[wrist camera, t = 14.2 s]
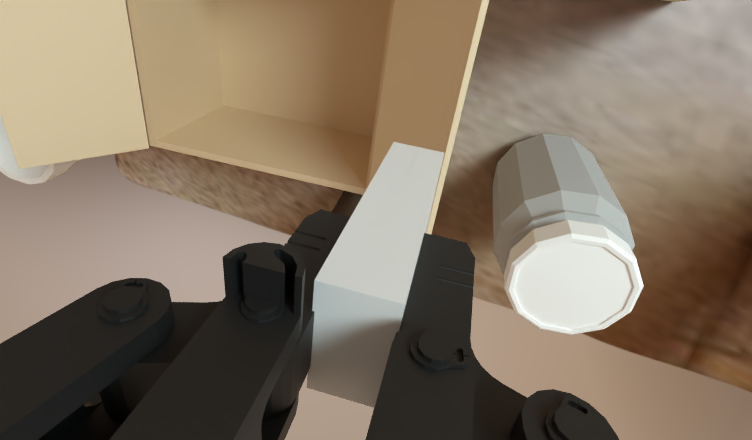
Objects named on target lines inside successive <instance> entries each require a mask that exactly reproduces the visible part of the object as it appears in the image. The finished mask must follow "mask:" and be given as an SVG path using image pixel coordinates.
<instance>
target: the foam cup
mask: <svg viewBox="0 0 752 440" xmlns="http://www.w3.org/2000/svg"><path fill="white" fill-rule="evenodd" d="M79 160H80V159H79ZM79 160H73V161H67V162H60V163H54V164H48V165H42V166H35V167H29V168H23V169H19V168H18V165H17V162H16V159H15V156H14V153H13V150H12V148H11V145H10V142H9V139H8V136H7V133H6V130H5V127H4V124H3V122H2V119H1V116H0V171H1V172H2V173H3V174H5V175H6V176H8V177H9V178H11V179H14V180H17V181H20V182H23V183H26V184H29V185H30V184H37V183H44V182H46V181H49V180H51V179H53V178H55V177H57V176H59V175H61V174H63V173H65V172H66V171H67V170H68V169H69V167H70V166H71V165H73V164H74V163H76V162H77V161H79Z"/></svg>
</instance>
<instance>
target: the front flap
mask: <svg viewBox="0 0 752 440" xmlns="http://www.w3.org/2000/svg"><path fill="white" fill-rule="evenodd" d="M488 4H489V0H395V1H394V8H393V15H392V23H391V30H390V37H389V44H388V51H387V58H386V65H385V72H384V79H383V86H382V93H381V100H380V107H379V115H378V122H377V129H376V136H375V143H374V150H373V157H372V164H371V171H370V178H369V184H370V182H371V181H372V179H373V177H374V175H375V174H376V172H377V170H378V168H379V167H380V165H381V163H382V161H383V160H384V158H385V156H386V154H387V153H388V151H389V149H390V148H391V146H392V144H393V142H397V143H402V144H406V145H411V146H416V147H420V148H425V149H430V150H434V151H439V152H444V157H443V162H442V166H441V170H440V175H439V179H438V183H437V187H436V192H435V196H434V200H433V205H432V209H431V213H430V217H429V222H428V226H427V230H426V233H427V234H432V230H433V226H434V222H435V218H436V214H437V209H438V205H439V201H440V197H441V193H442V189H443V185H444V181H445V177H446V173H447V169H448V165H449V161H450V157H451V153H452V149H453V145H454V141H455V137H456V133H457V129H458V125H459V121H460V117H461V113H462V109H463V105H464V100H465V96H466V92H467V88H468V84H469V80H470V76H471V72H472V68H473V64H474V60H475V56H476V52H477V48H478V44H479V40H480V36H481V32H482V28H483V24H484V20H485V16H486V12H487V8H488ZM368 186H369V185H368Z"/></svg>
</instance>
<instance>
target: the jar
mask: <svg viewBox="0 0 752 440" xmlns="http://www.w3.org/2000/svg"><path fill="white" fill-rule="evenodd" d="M492 191H493V246H494V254H495V256H496V258H497V261H498V263H499V265H500V268H501V270H502V272H503V274H504V285H505V291H506V293H507V295H508V298H509V300H510V302H511V305H512V307H513V309H514V311H515V313H517V314H518V315H520V316H521V317H522V318H524V319H525V320H527V321H528V322H530V323H531V324H533V325H534V326H536V327H537V328H539V329H543V330H548V331H554V332H559V333H564V334H570V335H573V334H578V333H584V332H590V331H596V330H602V329H605V328H607V327H608V326H610V325H611V324H613V323H614V322H616V321H618V320H619V319H621V318H622V317H624V316H625V315H627V314H628V313H630V312H631V311H632V309H633V307H634V305H635V303H636V301H637V299H638V297H639V295H640V293H641V291H642V289H643V287H644V285H643V282H642V278H641V274H640V271H639V267H638V264H637V260H636V258H635V256H634V254H633V252H632V250H633V248H634V246H635V244H634V240H633V237H632V233H631V229H630V226H629V222H628V219H627V216H626V214H625V212H624V210H623V208H622V207H621V205H620V203H619V201H618V199H617V198H616V196H615V194H614V192H613V190H612V189H611V187H610V185H609V183H608V181H607V180H606V178H605V176H604V174H603V172H602V171H601V169H600V167H599V165H598V163H597V162H596V160H595V158H594V156H593V154H592V153H591V152H590V151H589V150H587V149H586V148H585V147H583V146H582V145H581V144H579V143H578V142H577V141H576V140H574V139H573V138H572V137H568V136H560V135H551V134H543V133H542V134H539V135H537V136H534V137H531V138H528V139H526V140H523V141H520V142H517V143H515V144H514V145H513V146H512V147H511V148H510V150H509V151H508V152H507V153H506V154H505V155H504V156H503V157H502V158H501V159H500V160H499V161H498V162H497V166H496V171H495V176H494V180H493V185H492Z"/></svg>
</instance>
